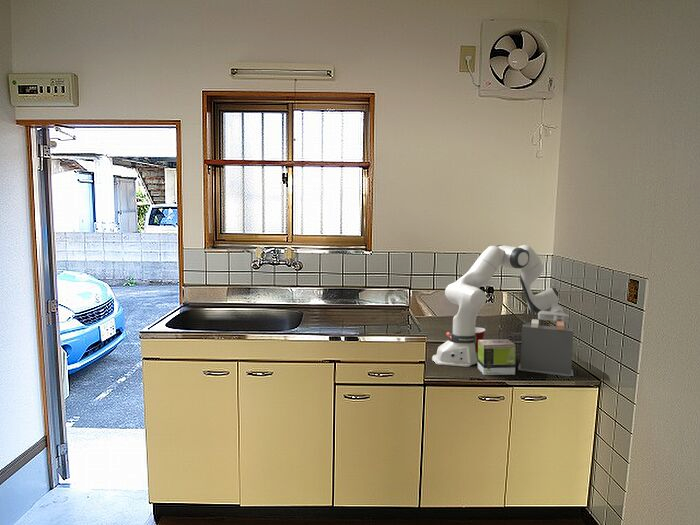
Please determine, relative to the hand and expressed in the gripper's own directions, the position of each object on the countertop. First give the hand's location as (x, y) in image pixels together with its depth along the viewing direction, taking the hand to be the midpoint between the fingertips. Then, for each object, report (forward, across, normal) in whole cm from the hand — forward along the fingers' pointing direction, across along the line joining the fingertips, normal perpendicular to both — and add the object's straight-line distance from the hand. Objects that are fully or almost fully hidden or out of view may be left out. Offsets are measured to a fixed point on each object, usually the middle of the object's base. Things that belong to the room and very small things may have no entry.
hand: (559, 319), depth 240 cm
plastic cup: (0, -41, +22) cm, 46 cm away
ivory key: (+18, -11, +5) cm, 22 cm away
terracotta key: (+18, 0, +5) cm, 19 cm away
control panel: (+20, -5, +21) cm, 29 cm away
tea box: (+31, -26, +22) cm, 46 cm away
